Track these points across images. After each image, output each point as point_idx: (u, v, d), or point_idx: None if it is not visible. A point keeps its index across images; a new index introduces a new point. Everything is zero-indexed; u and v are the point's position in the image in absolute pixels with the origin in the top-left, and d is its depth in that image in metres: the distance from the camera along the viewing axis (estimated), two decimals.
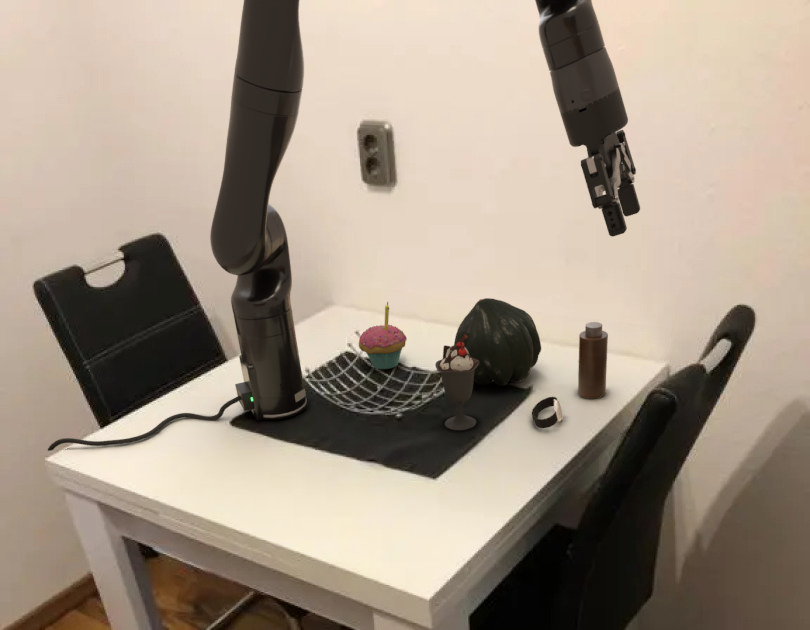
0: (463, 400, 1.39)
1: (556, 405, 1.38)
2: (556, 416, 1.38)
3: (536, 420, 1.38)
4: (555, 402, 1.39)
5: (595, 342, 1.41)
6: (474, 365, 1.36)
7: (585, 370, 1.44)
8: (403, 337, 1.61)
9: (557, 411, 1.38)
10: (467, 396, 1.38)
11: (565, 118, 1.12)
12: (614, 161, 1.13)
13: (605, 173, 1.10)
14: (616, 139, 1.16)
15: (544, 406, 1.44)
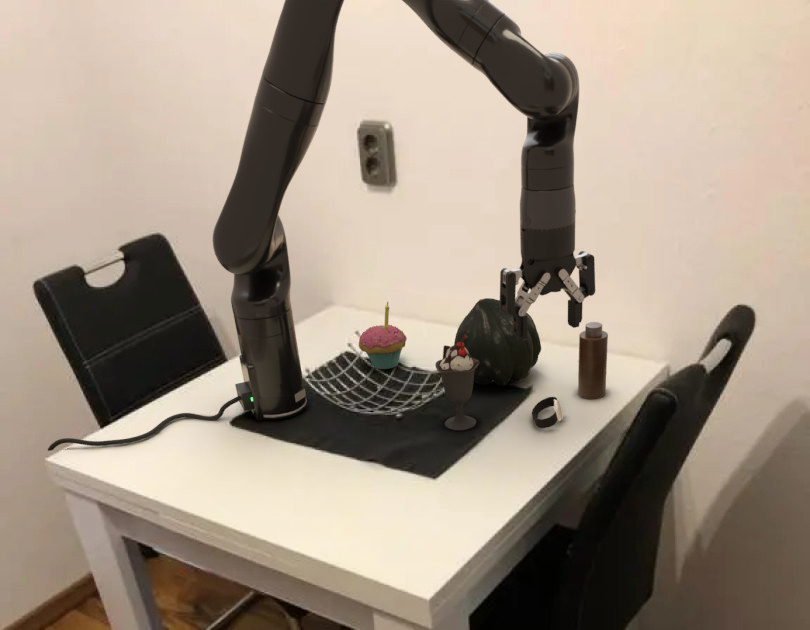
0: (463, 400, 1.39)
1: (556, 405, 1.38)
2: (556, 416, 1.38)
3: (536, 420, 1.38)
4: (555, 402, 1.39)
5: (595, 342, 1.41)
6: (474, 365, 1.36)
7: (585, 370, 1.44)
8: (403, 337, 1.61)
9: (557, 411, 1.38)
10: (467, 396, 1.38)
11: None
12: (537, 282, 1.27)
13: (511, 289, 1.26)
14: (569, 262, 1.28)
15: (544, 406, 1.44)
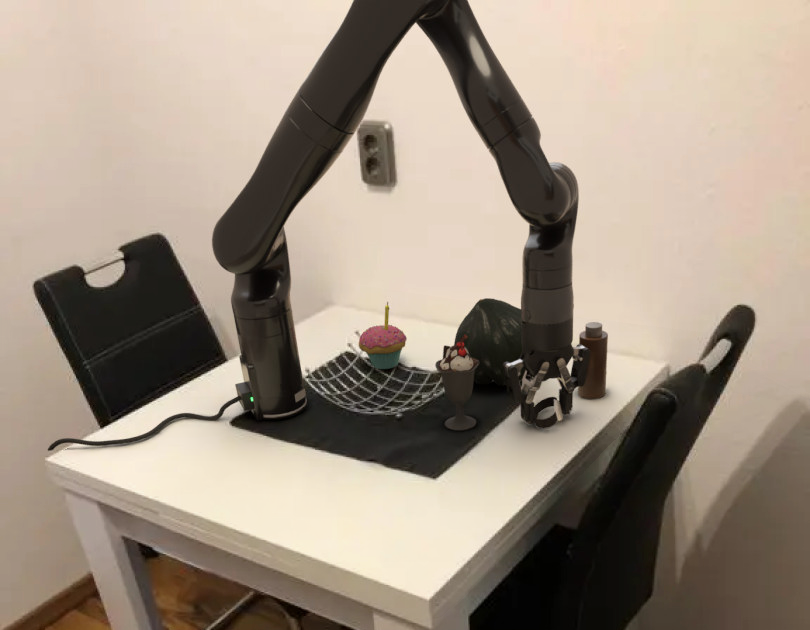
0: (463, 400, 1.39)
1: (556, 405, 1.38)
2: (556, 416, 1.38)
3: (536, 420, 1.38)
4: (555, 402, 1.39)
5: (595, 342, 1.41)
6: (474, 365, 1.36)
7: None
8: (403, 337, 1.61)
9: (557, 411, 1.38)
10: (467, 396, 1.38)
11: None
12: (538, 372, 1.34)
13: (515, 381, 1.34)
14: (567, 351, 1.35)
15: (544, 406, 1.44)
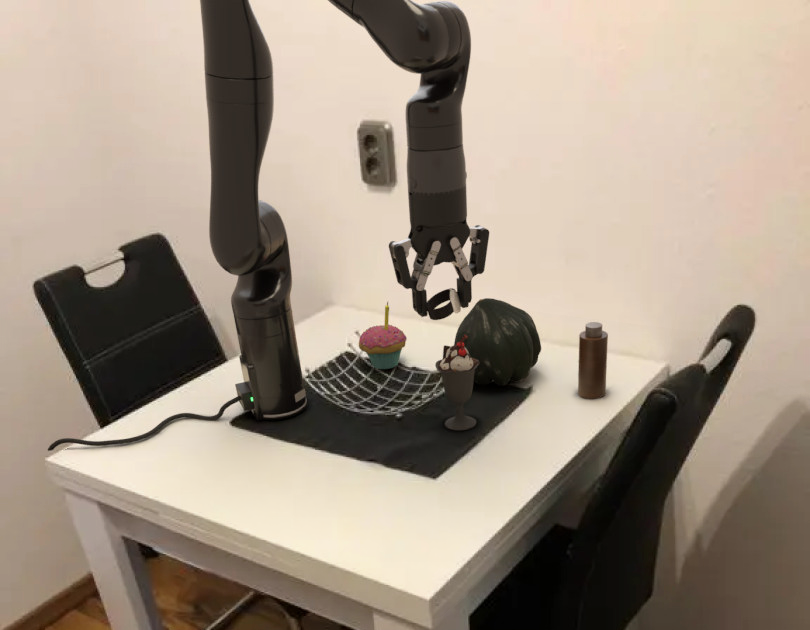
0: (463, 400, 1.39)
1: (452, 294, 1.23)
2: (452, 306, 1.23)
3: (429, 311, 1.23)
4: (451, 291, 1.24)
5: (595, 342, 1.41)
6: (474, 365, 1.36)
7: (585, 370, 1.44)
8: (403, 337, 1.61)
9: (453, 301, 1.23)
10: (467, 396, 1.38)
11: None
12: (428, 252, 1.19)
13: (402, 263, 1.19)
14: (462, 230, 1.20)
15: (442, 300, 1.28)
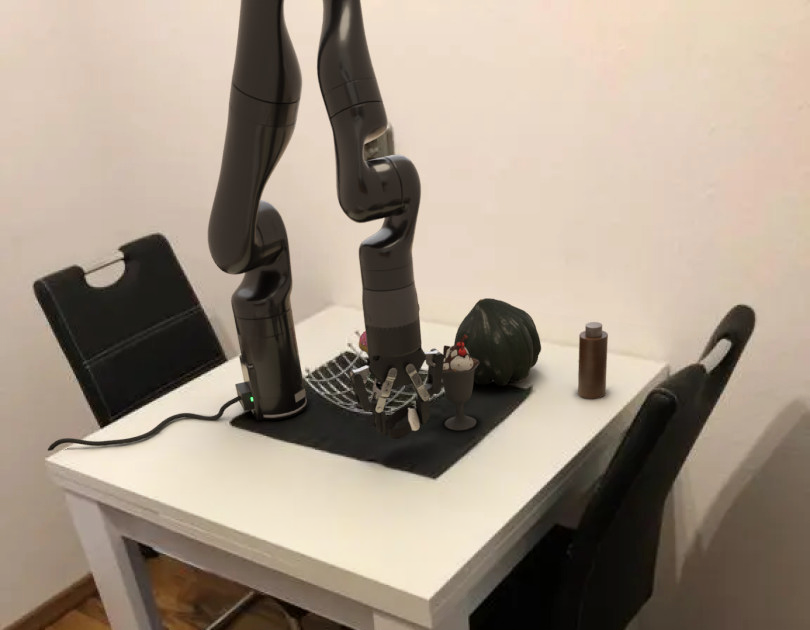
0: (463, 400, 1.39)
1: (410, 414, 1.30)
2: (410, 426, 1.29)
3: (388, 430, 1.29)
4: (409, 411, 1.30)
5: (595, 342, 1.41)
6: (474, 365, 1.36)
7: (585, 370, 1.44)
8: None
9: (411, 420, 1.30)
10: (467, 396, 1.38)
11: None
12: (385, 378, 1.26)
13: (361, 389, 1.25)
14: (417, 356, 1.26)
15: (403, 415, 1.35)
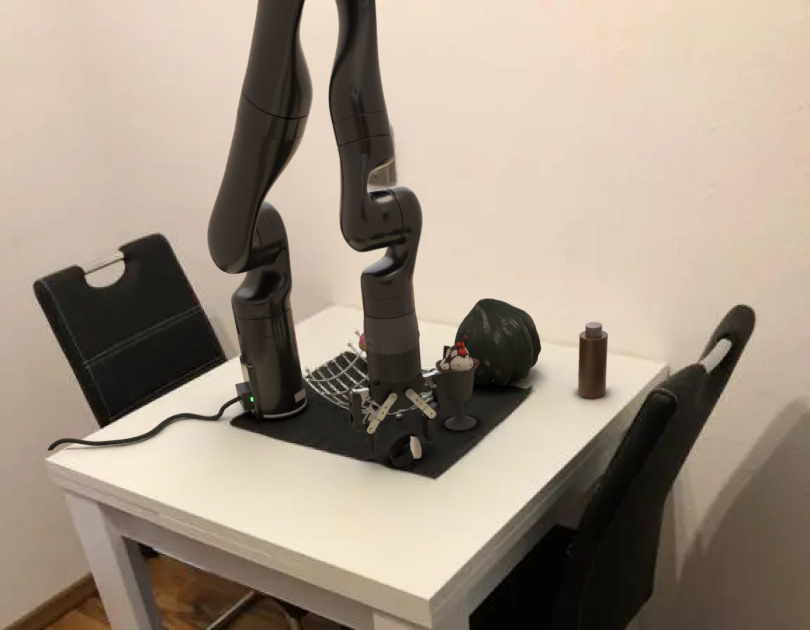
0: (463, 400, 1.39)
1: (412, 442, 1.32)
2: (412, 454, 1.32)
3: (391, 458, 1.32)
4: (411, 439, 1.32)
5: (595, 342, 1.41)
6: (474, 365, 1.36)
7: (585, 370, 1.44)
8: None
9: (413, 449, 1.32)
10: (467, 396, 1.38)
11: None
12: (384, 401, 1.27)
13: (357, 409, 1.27)
14: (417, 381, 1.28)
15: (405, 443, 1.37)
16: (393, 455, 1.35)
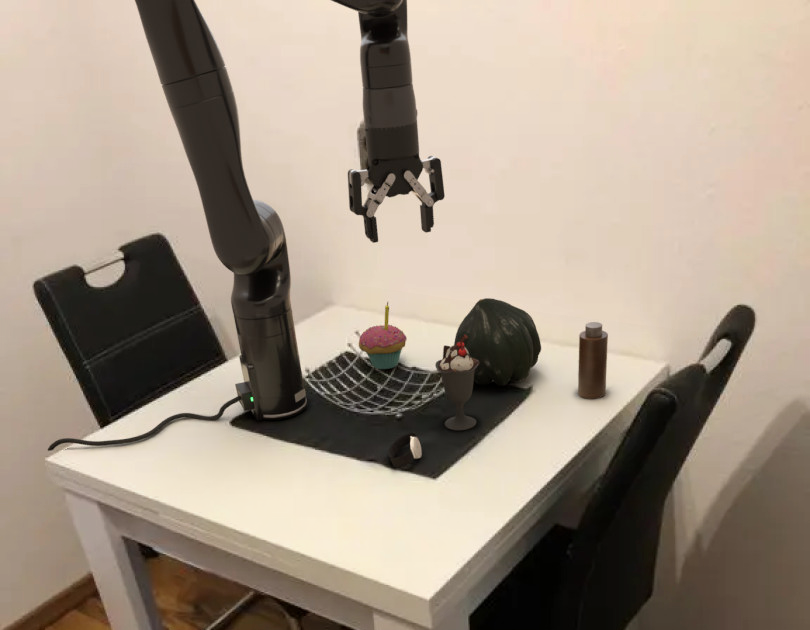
0: (463, 400, 1.39)
1: (412, 442, 1.32)
2: (412, 454, 1.32)
3: (391, 458, 1.32)
4: (411, 439, 1.32)
5: (595, 342, 1.41)
6: (474, 365, 1.36)
7: (585, 370, 1.44)
8: (403, 337, 1.61)
9: (413, 449, 1.32)
10: (467, 396, 1.38)
11: None
12: (383, 183, 1.31)
13: (357, 189, 1.31)
14: (415, 164, 1.32)
15: (405, 443, 1.37)
16: (393, 455, 1.35)
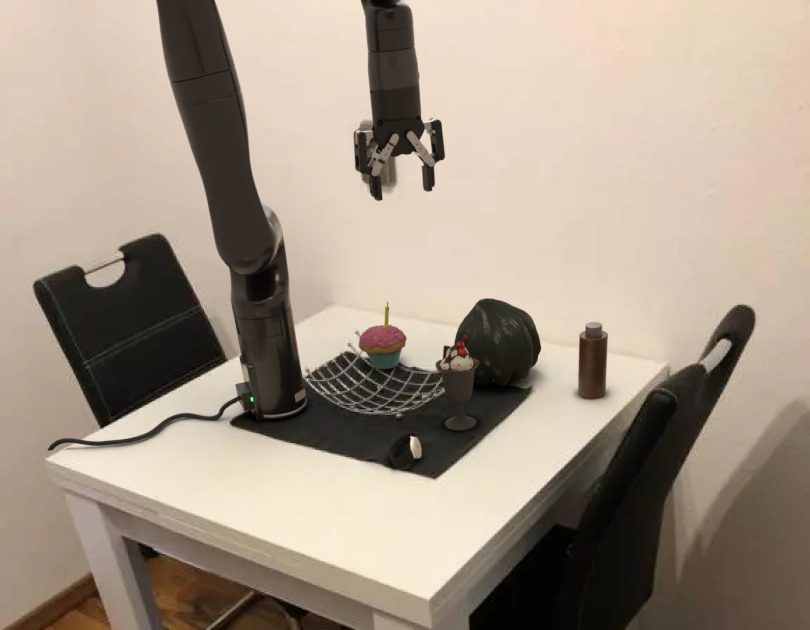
0: (463, 400, 1.39)
1: (412, 442, 1.32)
2: (412, 454, 1.32)
3: (391, 458, 1.32)
4: (411, 439, 1.32)
5: (595, 342, 1.41)
6: (474, 365, 1.36)
7: (585, 370, 1.44)
8: (403, 337, 1.61)
9: (413, 449, 1.32)
10: (467, 396, 1.38)
11: None
12: (387, 143, 1.38)
13: (362, 149, 1.38)
14: (417, 125, 1.39)
15: (405, 443, 1.37)
16: (393, 455, 1.35)
